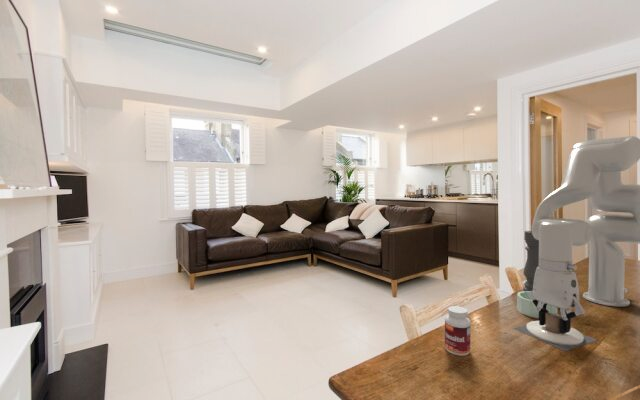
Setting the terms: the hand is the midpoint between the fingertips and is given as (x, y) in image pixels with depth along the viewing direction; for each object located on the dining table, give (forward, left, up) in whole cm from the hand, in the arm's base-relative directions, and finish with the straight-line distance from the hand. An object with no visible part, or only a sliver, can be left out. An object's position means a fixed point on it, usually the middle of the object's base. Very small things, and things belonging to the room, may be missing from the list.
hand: (553, 327), depth 89 cm
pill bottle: (+31, -5, -2) cm, 31 cm away
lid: (0, 0, -2) cm, 2 cm away
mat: (0, 0, -2) cm, 2 cm away
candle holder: (-24, -22, -2) cm, 33 cm away
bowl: (-11, -12, -2) cm, 16 cm away
